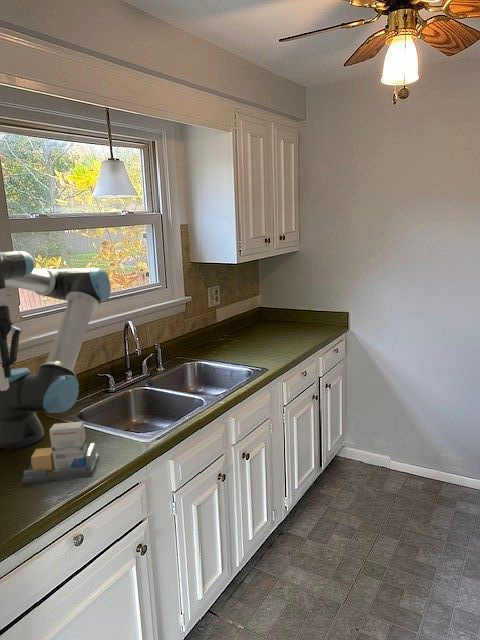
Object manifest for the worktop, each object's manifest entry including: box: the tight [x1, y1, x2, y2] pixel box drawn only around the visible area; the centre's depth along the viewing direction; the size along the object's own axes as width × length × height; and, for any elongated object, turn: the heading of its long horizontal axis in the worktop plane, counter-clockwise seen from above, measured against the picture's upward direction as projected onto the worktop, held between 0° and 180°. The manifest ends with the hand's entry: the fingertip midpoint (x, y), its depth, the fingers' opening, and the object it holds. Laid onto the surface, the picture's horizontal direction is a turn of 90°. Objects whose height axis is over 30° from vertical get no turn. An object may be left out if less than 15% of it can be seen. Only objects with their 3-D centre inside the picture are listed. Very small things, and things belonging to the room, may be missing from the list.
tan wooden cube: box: [30, 447, 54, 471], centre depth 136 cm, size 5×5×4 cm
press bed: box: [21, 442, 100, 485], centre depth 137 cm, size 11×18×6 cm, turn 97°
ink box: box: [48, 421, 88, 469], centre depth 136 cm, size 9×5×12 cm, turn 95°
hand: (4, 389), depth 134 cm, fingers closed
